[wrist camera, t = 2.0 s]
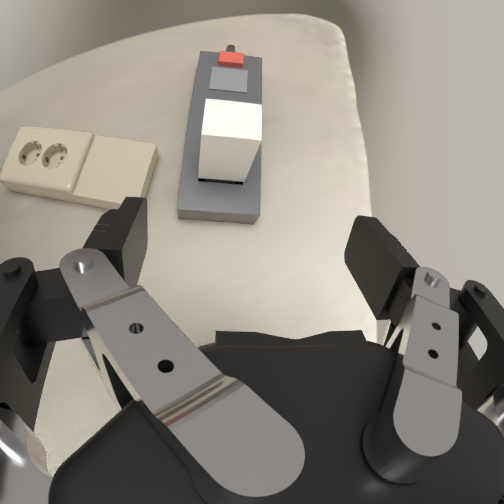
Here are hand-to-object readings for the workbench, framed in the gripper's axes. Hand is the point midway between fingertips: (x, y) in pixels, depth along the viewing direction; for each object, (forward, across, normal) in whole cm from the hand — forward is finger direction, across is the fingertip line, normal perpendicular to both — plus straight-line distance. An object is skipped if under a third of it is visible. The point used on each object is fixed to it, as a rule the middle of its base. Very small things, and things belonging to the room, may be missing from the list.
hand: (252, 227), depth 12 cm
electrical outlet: (+24, +17, +7) cm, 30 cm away
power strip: (+29, 0, +1) cm, 29 cm away
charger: (+23, 0, +6) cm, 24 cm away
